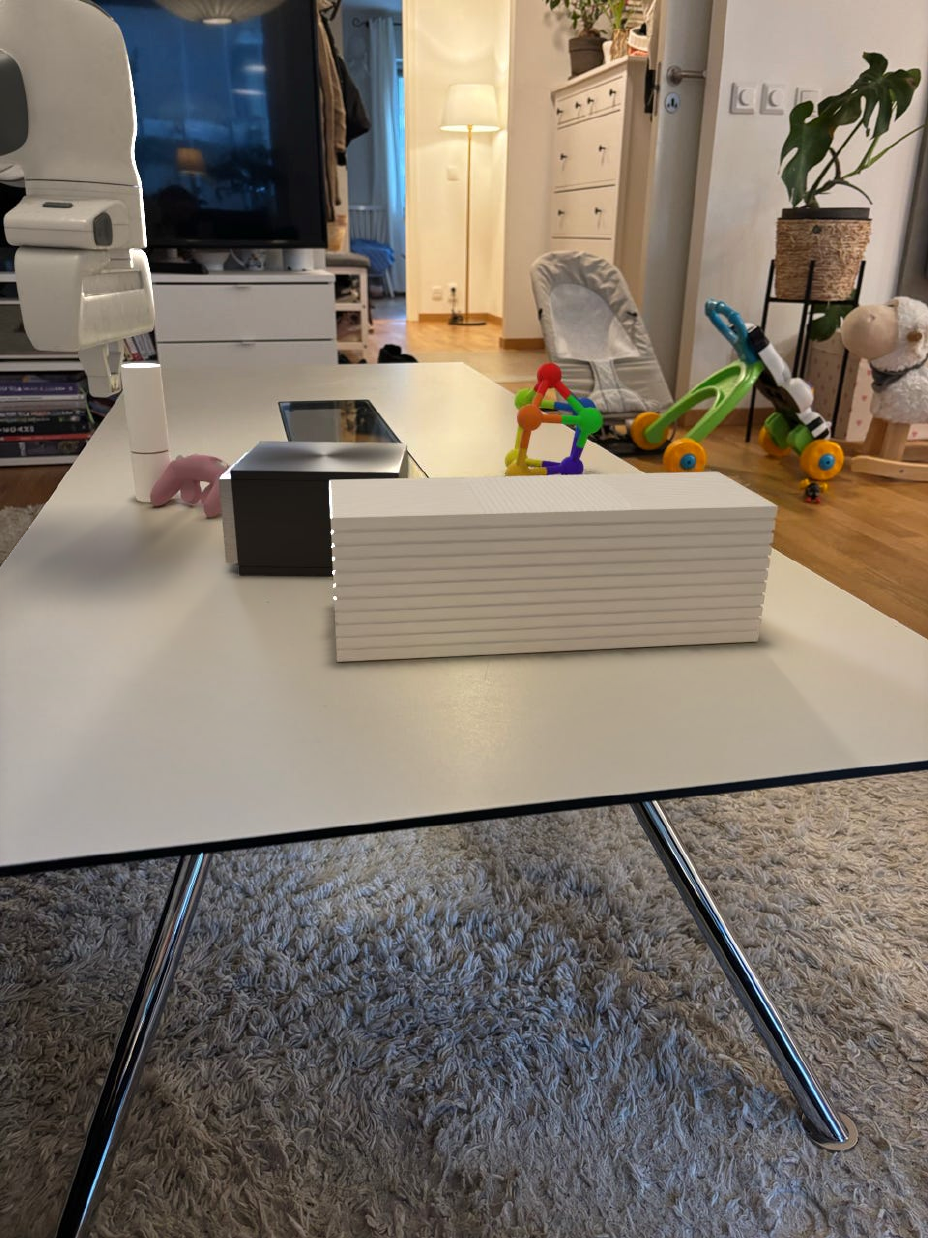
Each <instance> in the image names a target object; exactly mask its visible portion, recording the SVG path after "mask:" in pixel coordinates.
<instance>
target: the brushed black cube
mask: <svg viewBox="0 0 928 1238" xmlns="http://www.w3.org/2000/svg"><path fill="white" fill-rule="evenodd" d="M249 451H250V452H248V453H247V454H246V455H245V456H244V457H243V458H242V459H241V460H240V461H239V462H238V463H237V464H236V465H235V466H234V467H233V468H232V469H231V470H230V478H231V489H232V501H233V513H234V524H235V536H236V548H237V559H238V563H237V570H238V575H239V576H288V577H289V576H292V577H293V576H295V577H297V576H298V577H301V576H304V577H333V560H332V537H331V514H330V489H329V480H345V479H393V478H408V443H407V442H351V441H350V442H349V441H346V442H345V441H344V442H342V441H278V440H277V441H275V440H274V441H272V440H271V441H270V440H269V441H267V440H266V441H264V440H260V441H259V442H258V443H256V444H255V446H253V447H252V448H251V449H250V450H249Z"/></svg>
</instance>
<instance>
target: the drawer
mask: <svg viewBox="0 0 928 1238" xmlns="http://www.w3.org/2000/svg"><path fill="white" fill-rule="evenodd" d="M250 451H251V450H249V451H246V452H245V453H244V454H243V455H241V457H240V458H239V459H238V460H237V461H235V463H234V464H233V465H231V466H232V467H231V468H230V469H228V470H227V471H226V472H225V473H224V474H223V475H222V476H221V477H220V478H219V489H220V500H221V511H222V512H221V520H222V531H223V532H222V533H223V542H224V543H223V544H224V553H225V563H226V564H238V559H237V548H236V536H235V524H234V513H233V501H232V489H231V478H230V470H231V469H232V468H233V467H234V466H235V465H236V464H237V463H238V462H239V461H240V460H241V459H242V458H243V457H244V456H245V455H246V454H247V453H248V452H250Z"/></svg>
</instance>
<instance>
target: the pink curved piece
mask: <svg viewBox="0 0 928 1238" xmlns="http://www.w3.org/2000/svg"><path fill="white" fill-rule="evenodd" d="M232 466H233V465H230V464H229V463H228V462H226V461H225V460H224V459H221V458H219V457H216V456H213V455H210V454H209V455H208V454H203V453H193V454H190V455H181V454H178V455H176V457H175V459H174V460H171V463H170V464H169V465H168V467H167V469H166V470H165V472H164V473H163V475H162V476H161V477H160V479H159V480H158V481H157V482H156V483H155V485H154V486H153V488H152V490H151V493H150V501H151V504H152V506H153V507H161V506H163V505H165V504H166V503H168V502H169V501H171V500H172V499H171V498H172V497H173V496H174V495H175V496H176V495H177V494H178V493H179V495H180V499H181V501H182V502H183V503H187V504H190V505H197V504H198V503H199V502H201V504H202V506H203V513H204V515H205V516H206V517H207V518H211V519H212V518H214V517H217V516H219V515H220V514H222V511H221V500H220V489H219V478H220V477H221V476H222V475H223V474H224V473H225V472H226V471H227V470H228V469H230V468H231V467H232ZM201 482H205V483H208V485H206V486H205V487H204V489H202V485H201ZM170 499H171V500H170Z"/></svg>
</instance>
